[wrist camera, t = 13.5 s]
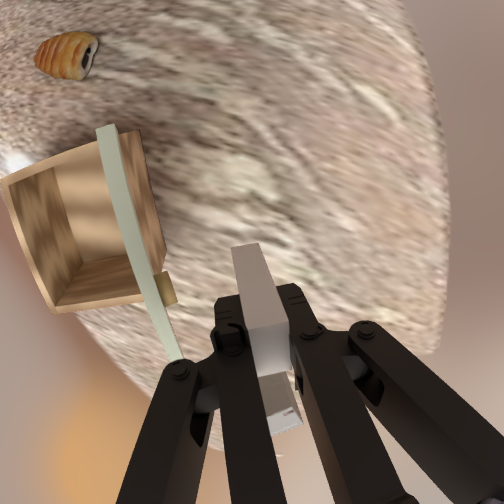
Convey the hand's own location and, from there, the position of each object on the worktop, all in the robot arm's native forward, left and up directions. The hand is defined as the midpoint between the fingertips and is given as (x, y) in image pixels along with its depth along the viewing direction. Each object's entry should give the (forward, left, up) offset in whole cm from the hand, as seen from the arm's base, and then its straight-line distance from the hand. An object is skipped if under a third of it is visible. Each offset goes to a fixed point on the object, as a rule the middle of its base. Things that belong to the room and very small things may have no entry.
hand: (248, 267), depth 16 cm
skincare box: (+33, 0, -24) cm, 41 cm away
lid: (0, -10, -11) cm, 15 cm away
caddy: (0, -17, -23) cm, 29 cm away
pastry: (-25, -18, -24) cm, 39 cm away
